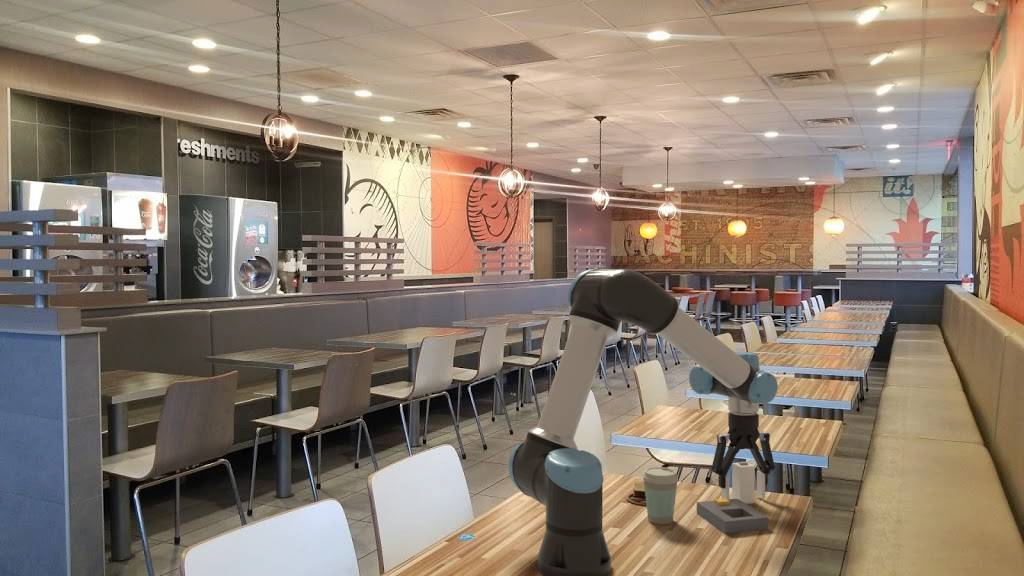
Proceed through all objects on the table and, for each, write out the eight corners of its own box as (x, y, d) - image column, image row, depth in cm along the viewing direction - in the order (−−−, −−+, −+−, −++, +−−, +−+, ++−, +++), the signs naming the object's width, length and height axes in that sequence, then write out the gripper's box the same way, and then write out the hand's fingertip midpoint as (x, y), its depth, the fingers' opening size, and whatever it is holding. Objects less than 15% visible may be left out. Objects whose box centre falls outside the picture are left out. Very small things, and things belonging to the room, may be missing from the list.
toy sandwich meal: (622, 504, 192) (622, 490, 192) (632, 493, 201) (632, 480, 201) (658, 509, 188) (658, 495, 188) (667, 497, 197) (667, 484, 197)
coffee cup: (678, 527, 174) (679, 477, 173) (641, 525, 176) (641, 475, 175) (678, 515, 182) (678, 467, 182) (642, 513, 184) (642, 465, 183)
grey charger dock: (725, 534, 169) (725, 518, 169) (696, 514, 183) (696, 498, 183) (768, 530, 172) (768, 514, 172) (737, 510, 186) (737, 495, 185)
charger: (740, 506, 189) (740, 464, 189) (732, 501, 193) (732, 460, 192) (754, 504, 190) (754, 463, 189) (746, 499, 194) (746, 459, 193)
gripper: (711, 417, 184) (710, 506, 185) (790, 413, 189) (789, 499, 190) (697, 411, 192) (697, 497, 193) (773, 407, 197) (773, 491, 197)
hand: (743, 498), depth 191 cm, fingers open, 9 cm apart
